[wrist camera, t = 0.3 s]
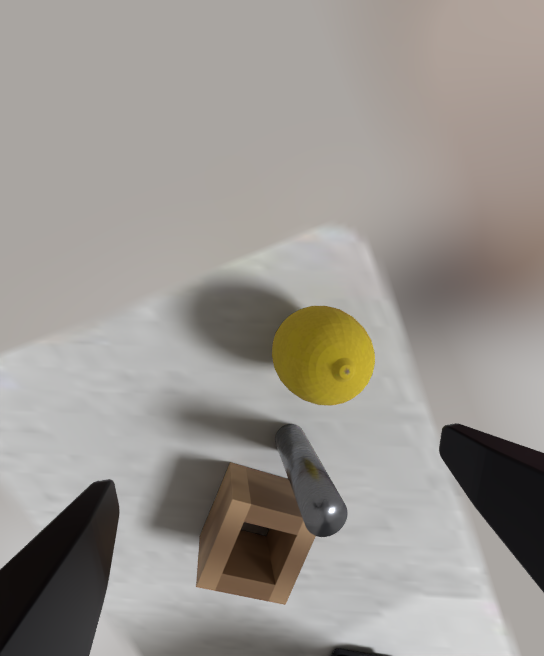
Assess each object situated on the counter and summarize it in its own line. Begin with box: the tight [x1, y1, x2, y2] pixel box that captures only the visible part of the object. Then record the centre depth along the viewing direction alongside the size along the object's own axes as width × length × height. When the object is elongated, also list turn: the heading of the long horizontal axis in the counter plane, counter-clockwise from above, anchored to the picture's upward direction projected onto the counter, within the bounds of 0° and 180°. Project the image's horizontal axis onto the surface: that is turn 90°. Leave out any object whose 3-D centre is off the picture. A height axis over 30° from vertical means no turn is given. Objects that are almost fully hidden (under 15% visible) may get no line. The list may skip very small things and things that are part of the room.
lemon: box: [272, 306, 375, 405], centre depth 19 cm, size 6×6×8 cm
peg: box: [275, 424, 347, 537], centre depth 20 cm, size 2×2×8 cm
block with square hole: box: [196, 462, 315, 605], centre depth 22 cm, size 6×6×4 cm
